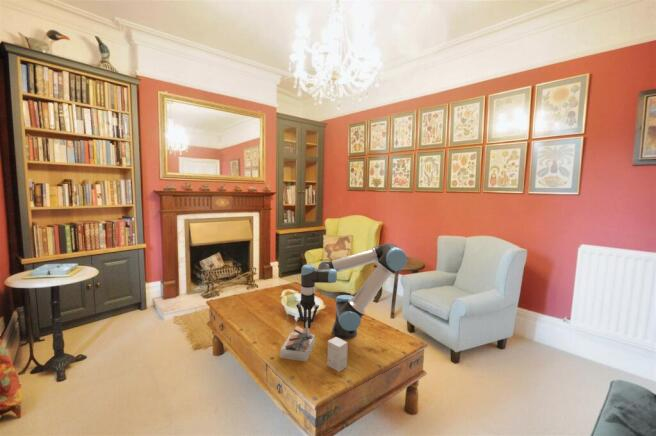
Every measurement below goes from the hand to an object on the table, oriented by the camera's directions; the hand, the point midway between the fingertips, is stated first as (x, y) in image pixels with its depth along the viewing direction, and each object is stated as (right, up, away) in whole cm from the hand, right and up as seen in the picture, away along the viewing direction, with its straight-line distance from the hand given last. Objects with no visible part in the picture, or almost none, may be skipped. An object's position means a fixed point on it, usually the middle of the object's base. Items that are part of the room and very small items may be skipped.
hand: (307, 333), depth 164 cm
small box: (+16, -10, -17) cm, 26 cm away
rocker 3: (-3, 0, +1) cm, 3 cm away
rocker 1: (-4, -1, -5) cm, 7 cm away
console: (-4, -8, -4) cm, 10 cm away
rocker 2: (-5, -2, -11) cm, 12 cm away
